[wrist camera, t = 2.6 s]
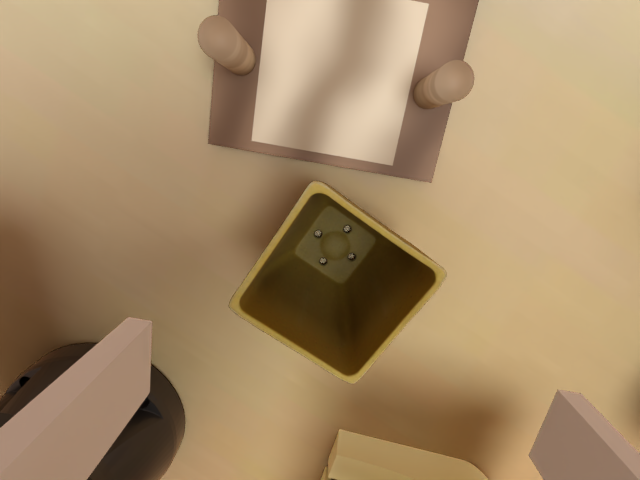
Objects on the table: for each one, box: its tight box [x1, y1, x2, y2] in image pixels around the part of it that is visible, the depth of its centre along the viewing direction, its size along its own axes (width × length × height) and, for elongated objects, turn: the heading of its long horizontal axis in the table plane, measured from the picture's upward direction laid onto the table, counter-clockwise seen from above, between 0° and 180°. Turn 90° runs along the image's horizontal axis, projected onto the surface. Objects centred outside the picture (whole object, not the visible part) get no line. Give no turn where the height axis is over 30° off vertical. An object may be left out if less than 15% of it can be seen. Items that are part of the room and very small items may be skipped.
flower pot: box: [229, 181, 447, 384], centre depth 23 cm, size 9×9×9 cm
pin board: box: [198, 0, 479, 183], centre depth 21 cm, size 16×13×6 cm
